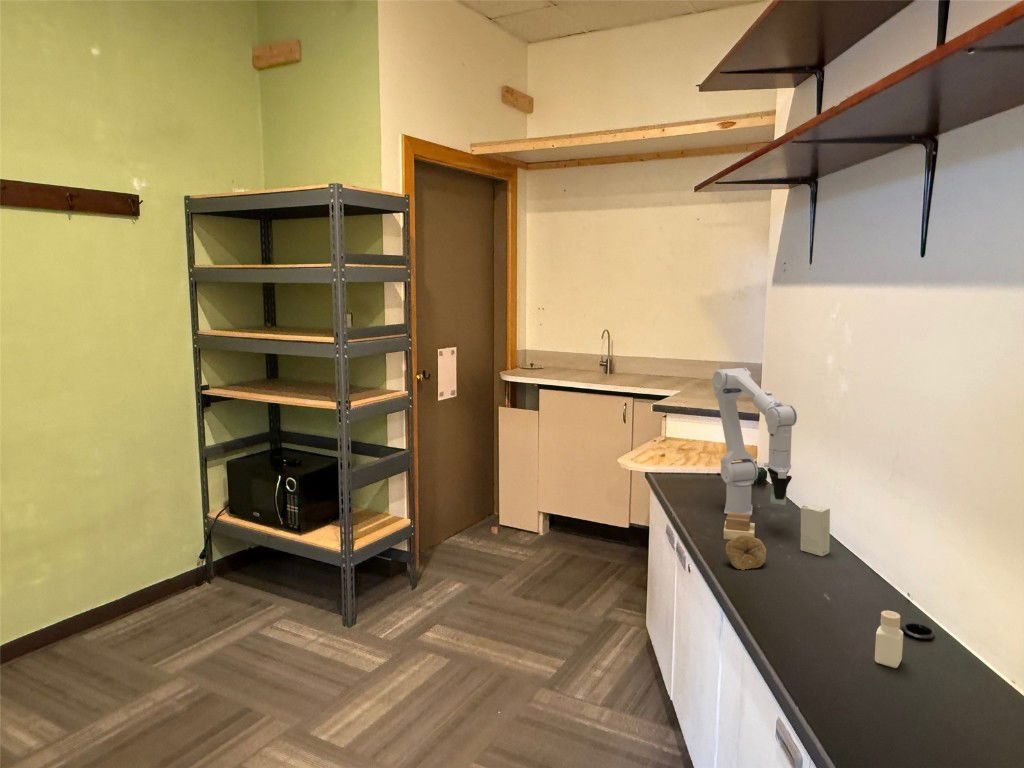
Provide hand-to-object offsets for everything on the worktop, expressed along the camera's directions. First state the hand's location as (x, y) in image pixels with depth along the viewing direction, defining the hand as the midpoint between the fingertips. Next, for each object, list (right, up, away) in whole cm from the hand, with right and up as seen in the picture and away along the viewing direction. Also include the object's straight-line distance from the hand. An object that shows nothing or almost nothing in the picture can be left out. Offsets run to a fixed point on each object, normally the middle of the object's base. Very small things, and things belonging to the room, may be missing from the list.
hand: (778, 496), depth 200 cm
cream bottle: (-4, -21, -66) cm, 69 cm away
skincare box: (+4, -13, -13) cm, 19 cm away
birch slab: (-11, -11, 0) cm, 16 cm away
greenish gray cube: (0, -2, 0) cm, 2 cm away
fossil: (-16, -14, -20) cm, 29 cm away
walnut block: (-11, -8, 0) cm, 14 cm away
